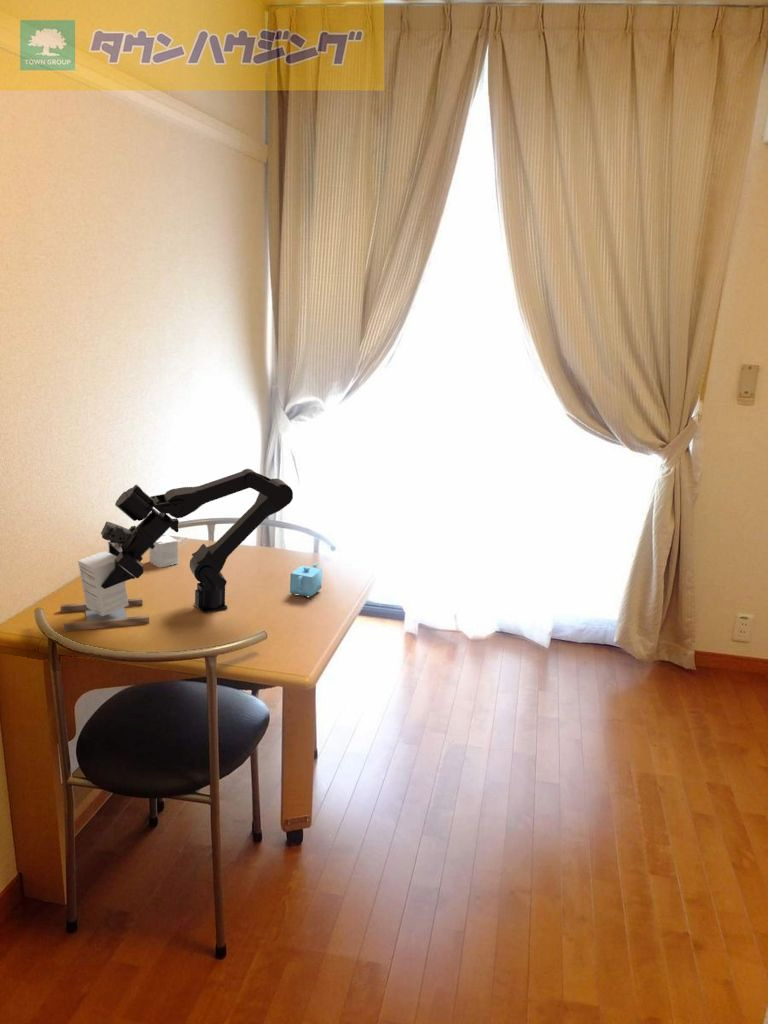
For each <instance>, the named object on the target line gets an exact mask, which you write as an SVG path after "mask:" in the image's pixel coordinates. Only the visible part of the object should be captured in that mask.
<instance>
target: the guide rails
mask: <svg viewBox="0 0 768 1024" xmlns="http://www.w3.org/2000/svg"><path fill="white" fill-rule="evenodd" d="M143 600H144V599H143V598H142V597H138V598H137V597H136V598H128V604H129V605H128V606H126V607H124V608H121V609H119V610H116V611H114V612H112V613H109V614H107V615H105V616H100V615H99V614H97V613H95V612H94V611H92V610H90V609H89V608H87V607H86V602H81V603H70V604H60V606H59V607H60V614H61V613H62V614H64V613H73V612H74V613H75V612H85V615H86V621H85V620H84V621H78V622H77V621H76V622H67V623H65V622H64V623H63V624H62V627H63V629H62V630H63V633H66V632H74V631H75V632H76V630H77V631H84V630H85V631H86V630H95V629H96V628H97V629H105V627H106V628H115V627H114V626H116V627H124V626H126V627H127V626H133V625H135V624H136V625H145V624H150V616H149V615H141V616H140V615H137V616H129V617H128V615H127V612H126V609H125V608H128V607H130V608H131V607H138V606H139V605H141V606H143V605H144V603H143ZM103 627H104V628H103ZM97 629H96V630H97Z"/></svg>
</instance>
